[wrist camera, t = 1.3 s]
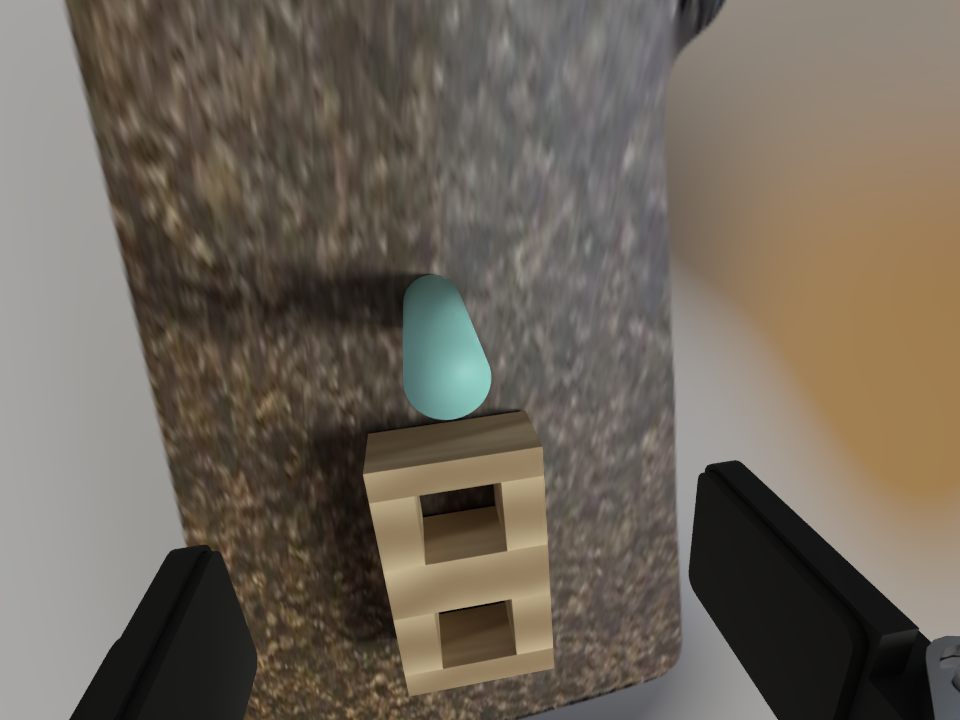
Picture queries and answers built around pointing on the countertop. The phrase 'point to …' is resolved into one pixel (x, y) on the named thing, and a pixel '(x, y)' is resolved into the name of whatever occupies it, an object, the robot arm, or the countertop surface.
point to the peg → (441, 351)
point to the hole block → (463, 550)
